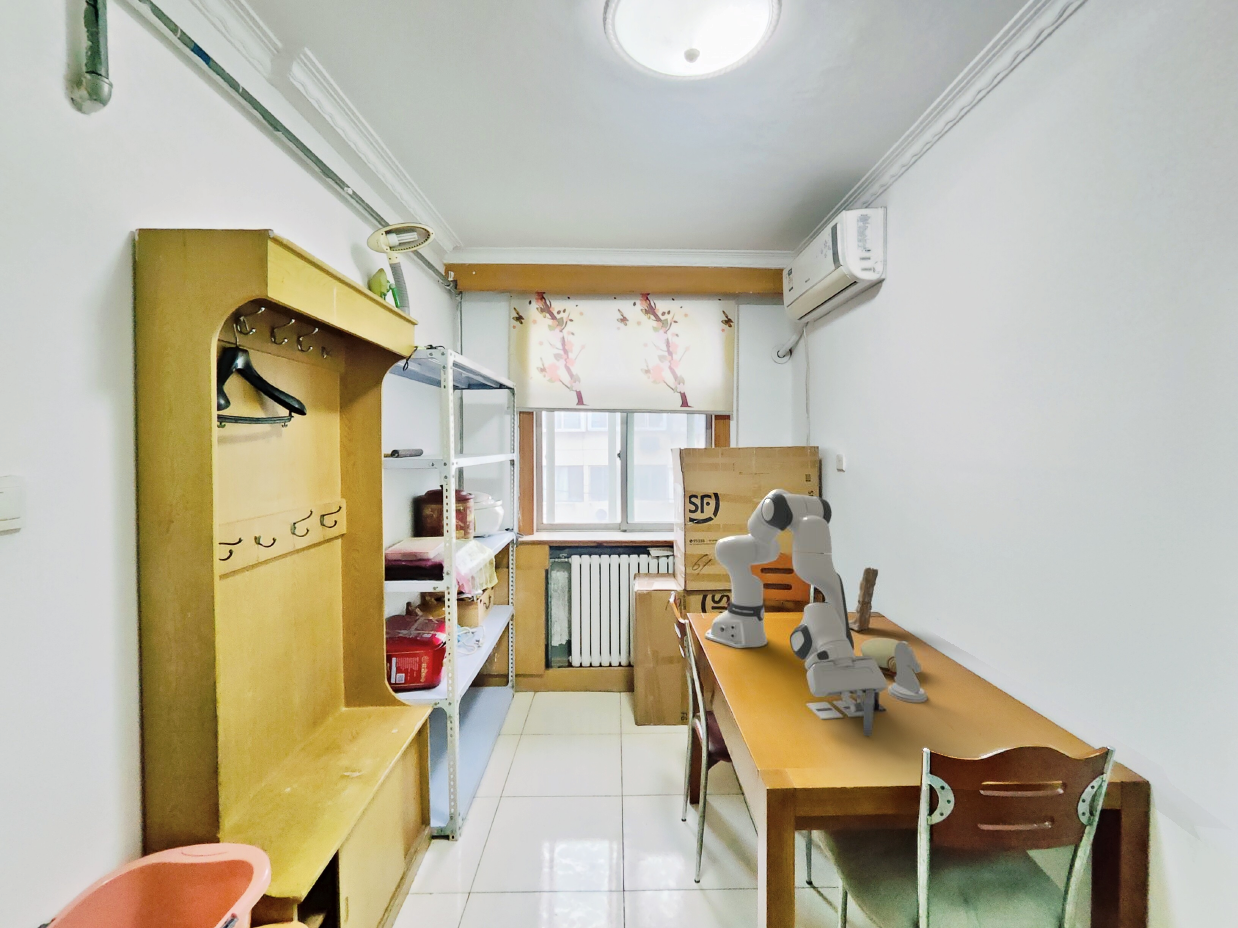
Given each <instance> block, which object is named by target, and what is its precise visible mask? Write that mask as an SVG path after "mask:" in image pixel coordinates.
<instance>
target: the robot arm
mask: <svg viewBox="0 0 1238 928" xmlns="http://www.w3.org/2000/svg"><path fill="white" fill-rule="evenodd" d="M832 514H833V513H832V508H831V504H830V503H829V502H828V501H827V500H826V499H824V498H822V497H819V496H812V495H806V494H798V493H797V494H793V493H790V492H789V491H788V490H785V489H782V488H776V489H773V490H771V491H770V492H769V493H768V494H766V495H765V497H764V498H762V500H761V501H760V502H759V504H758V505H757V507H756V508H755V509H754V511H753V513H752V514H751V516H750V517H749V519H748V521H747V531H748V534H743V535H742V534H741V535H729V536H725V537H723V538H720V539H718V540H717V542H716V543H715V546H714V555H715V556H714V557H715V559H716V561H717V562H718V563H719V564H720V565H721V566H723V568H725V570H726V571H727V573H728V576H729V579H730V583H731V599H730V600H729V601H728V602H726V604H725V608H726V609H727V610H725V611H723V612H722V613H720V614H719V615H718V616H716V617H715V618H714V619H713V621H712V622H711V628H710V629H708V630H707V631H706V632H705V633H704V634H705V635H704V638H705V639H706V640H711V641H714V642H716V643H719V644H723V645H726V646H728V647H729V646H730V647H732V648H735V649H743V648H759V647H763V646H765V645H767V644H768V639H767V636H766V631H765V624H764V619H765V603H764V598H763V597H764V584H763V581H762V580H761V579H760V578H759V577H758V576H756V575H755V574H753V573H752V569H751V566H754V565H764V564H768V563H771V562H774V561H776V560H777V559H778V558H779V556H780V555H781V544H780V542H779V540H778V536H779V534H780V533H781V532H784V531H785V530H786V529H787V530H788V531H790V532H791V534H792V550H791V551H792V552H791V557H792V560H791V561H792V563H791V564H792V567H793V568H792V569H793V570H794V573H795V574H796V576H798V577H799V578H800V579H801V580H802V581H804V582H805V583H806V584H808V585H810V586H813V587H815V588H817V589H818V590H819V591H820V592H821V593H822V594H823V596H824V598H825V601H814V602H810V603H807V605H805V606H804V609H803V617H802V620H801V622H800V623H799V625H798V626H797V627H795V628H794V629H793V631H792V632H791V634H790V636H789V643H790V648H791V649H792V652H793V654H794V655H795V656H796V657H797V658H798V659H799V660H800V661H805V662H804V667H805V669H806V679H807V683H808V688H809V691H810V693H811V694H812V695H813V696H814V697H815V698H819V697H820V698H821V697H831V696H840V697H841V699H842V701H845V702H846V703H847V704H848V705H849V706H850V709H851V711H852V712H862V711H864V706H863V703H862V702H863V701H864V697H865V693H866V689H874V692H879V693H882V692H883V691H884V690H886V689H887V688H888V681H887V679H886V677H885V676H884V674H883V672H881V670H880V669H881V668H880V666H878V665H877V662H876V661H875V660H874V659H873V658H871V657H869V656H863V655H861V656H860V655H859V656H856V654H855V652H854V651H855V650H854V649H855V642H854V637H853V634H852V631H851V628H850V627H849V621H848V620H849V616H848V615H849V614H848V608H847V603H846V602H847V600H846V595H845V588H844V584H843V580H842V577H841V575H840V574H839V573H838V572H837V571H836V569H835V567H834V562H833V556H832V555H833V554H832V537H831V531H830V526H829V524H830V522H831V521H832ZM879 668H880V669H879ZM851 695H853V696H854V699H857V700H856V703H854V702H853V701H852V700H853V699H852V698H851V697H850V696H851Z"/></svg>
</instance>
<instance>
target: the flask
mask: <svg viewBox="0 0 1238 928" xmlns="http://www.w3.org/2000/svg"><path fill="white" fill-rule="evenodd" d="M898 642H901V641H899V640H897V639H894V638H886V637H875V638H869V639H867V640H865V641H863V642H862V644H861V645H860V647H859V648H860V653H861V656H869V657H871V658H873V659H874V660H875V661H876V662H877V665H878V667H879V669H880V670H881V672H882V674H883V673H884V674H887V675H891V676H894V677H896V675H897V667H896V663H895V658H894V652H895V651H894V650H895V647H896V645H897V644H898ZM882 668H883V669H882ZM884 669H888V670H889V671H886V670H884Z"/></svg>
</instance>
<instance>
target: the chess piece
mask: <svg viewBox="0 0 1238 928" xmlns="http://www.w3.org/2000/svg"><path fill="white" fill-rule="evenodd" d="M894 651H895V652H894V658H895V663H896V667H897V675H896V676H893V677H894V681H895V682H893V683H891V685H889V686H888V687H887V688H888V689H887V691H888V694H889V695H890V696H892V697H893V698H895V699H896V700H898V701H899V700H900V701H903V702H907V703H924V702H926V701H927V699H928V696H927V693H926V691H925V690H924V689H923V688H922V687H921V683H920V681H919V680H918V677H917V675H916V674H919V673H921V672H922V665H921V663H919V661H918V659H917V658H916V655H915V652H914V650H913V649H912V647H911V646H909V642H907V641H905V640H903V641H900V642H898V644H897V645H896V647H895V650H894Z"/></svg>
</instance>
